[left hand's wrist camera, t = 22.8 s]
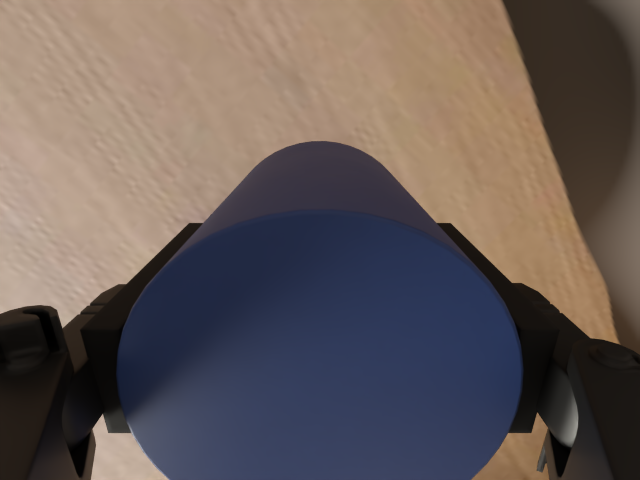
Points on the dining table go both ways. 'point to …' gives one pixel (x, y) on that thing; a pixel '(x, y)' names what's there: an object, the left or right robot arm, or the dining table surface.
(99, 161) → the dining table surface
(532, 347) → the left robot arm
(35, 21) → the dining table surface
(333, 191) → the canister
